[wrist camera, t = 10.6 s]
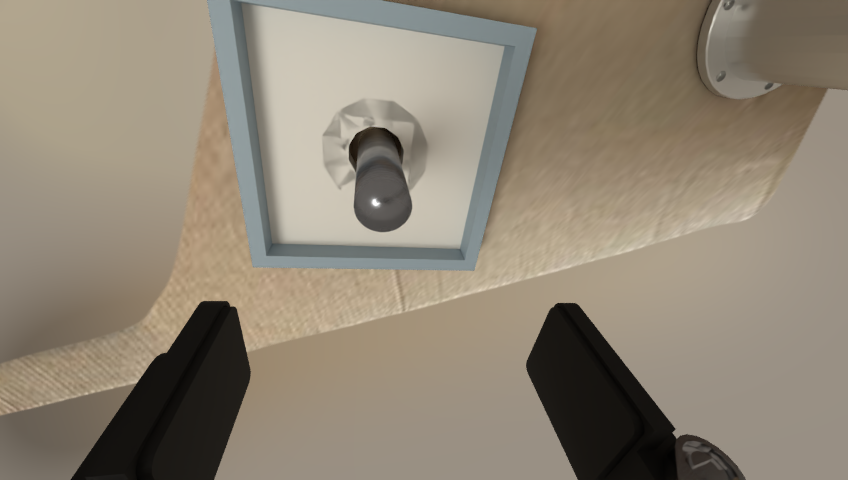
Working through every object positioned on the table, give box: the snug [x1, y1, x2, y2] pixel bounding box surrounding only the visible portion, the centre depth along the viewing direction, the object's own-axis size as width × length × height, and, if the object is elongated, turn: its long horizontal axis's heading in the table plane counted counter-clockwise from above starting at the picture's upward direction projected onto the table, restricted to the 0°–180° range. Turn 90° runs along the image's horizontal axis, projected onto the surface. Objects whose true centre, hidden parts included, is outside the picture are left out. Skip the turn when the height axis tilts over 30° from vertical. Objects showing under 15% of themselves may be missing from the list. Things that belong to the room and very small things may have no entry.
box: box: [207, 0, 537, 271], centre depth 26 cm, size 20×20×4 cm
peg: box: [354, 128, 412, 232], centre depth 23 cm, size 3×3×12 cm
